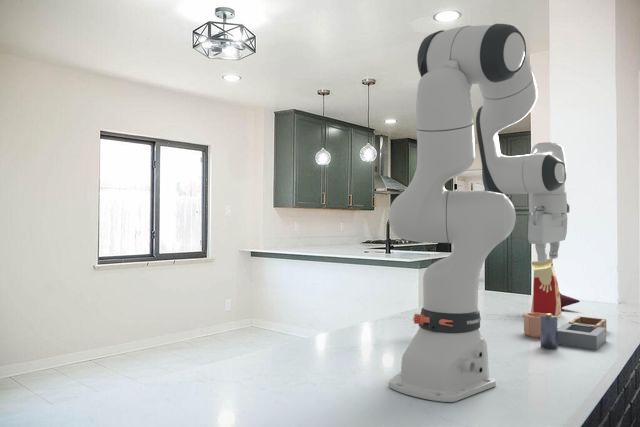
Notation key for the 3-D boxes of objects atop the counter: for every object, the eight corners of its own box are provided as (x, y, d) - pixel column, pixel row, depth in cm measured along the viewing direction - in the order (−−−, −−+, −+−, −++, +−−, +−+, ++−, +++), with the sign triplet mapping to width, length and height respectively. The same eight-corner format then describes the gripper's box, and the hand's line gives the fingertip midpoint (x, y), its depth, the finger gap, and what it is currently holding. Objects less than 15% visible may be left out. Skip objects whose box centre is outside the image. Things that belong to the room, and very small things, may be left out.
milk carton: (561, 315, 170) (560, 257, 171) (557, 319, 163) (557, 259, 163) (532, 312, 175) (532, 256, 176) (528, 316, 168) (527, 258, 168)
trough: (598, 338, 136) (597, 326, 137) (568, 334, 141) (568, 322, 141) (606, 330, 146) (606, 319, 146) (578, 327, 151) (578, 316, 151)
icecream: (583, 292, 179) (541, 292, 190) (575, 289, 174) (533, 289, 185) (583, 312, 177) (541, 310, 188) (576, 309, 172) (533, 308, 183)
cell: (555, 350, 124) (554, 316, 124) (538, 347, 127) (538, 314, 127) (559, 347, 127) (559, 313, 127) (543, 344, 130) (542, 311, 130)
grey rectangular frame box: (596, 349, 124) (596, 334, 124) (554, 343, 131) (554, 328, 131) (605, 340, 134) (605, 326, 134) (565, 335, 140) (565, 321, 140)
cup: (550, 339, 135) (550, 319, 135) (521, 335, 140) (520, 315, 140) (557, 334, 141) (557, 314, 141) (529, 330, 146) (529, 311, 146)
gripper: (547, 206, 117) (548, 264, 117) (571, 206, 133) (571, 257, 133) (520, 206, 121) (521, 262, 122) (546, 206, 137) (547, 256, 137)
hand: (547, 259), depth 127 cm, fingers open, 8 cm apart
